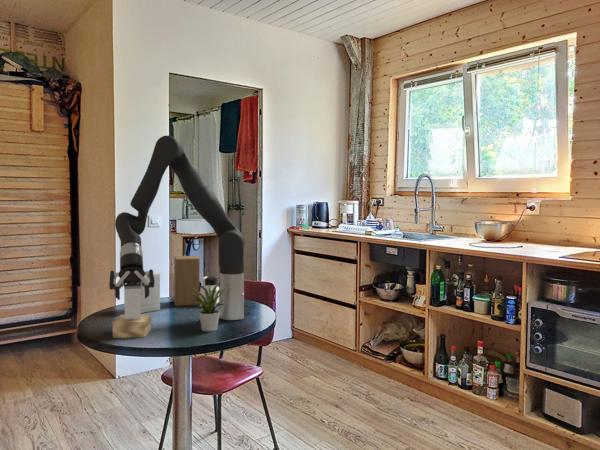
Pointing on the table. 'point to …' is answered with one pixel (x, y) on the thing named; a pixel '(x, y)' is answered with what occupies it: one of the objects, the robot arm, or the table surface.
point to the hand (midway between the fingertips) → (132, 297)
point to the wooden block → (186, 280)
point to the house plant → (209, 308)
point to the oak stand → (131, 327)
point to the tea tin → (132, 301)
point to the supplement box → (151, 295)
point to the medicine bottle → (212, 282)
